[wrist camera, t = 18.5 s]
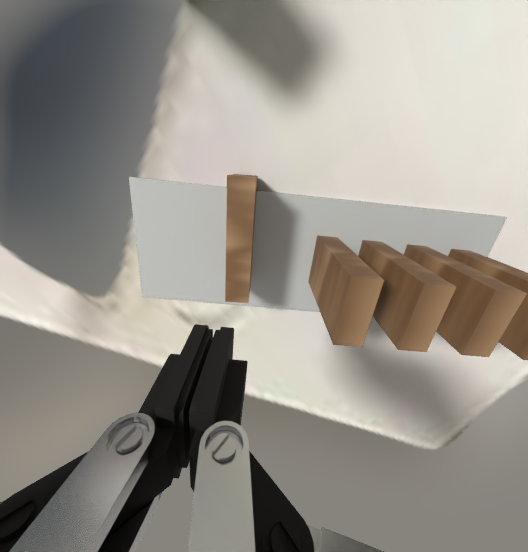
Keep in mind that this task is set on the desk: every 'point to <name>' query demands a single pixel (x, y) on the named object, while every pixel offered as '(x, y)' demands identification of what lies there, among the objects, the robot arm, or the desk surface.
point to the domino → (239, 236)
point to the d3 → (406, 297)
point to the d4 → (343, 290)
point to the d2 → (470, 303)
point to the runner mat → (275, 239)
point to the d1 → (524, 325)
